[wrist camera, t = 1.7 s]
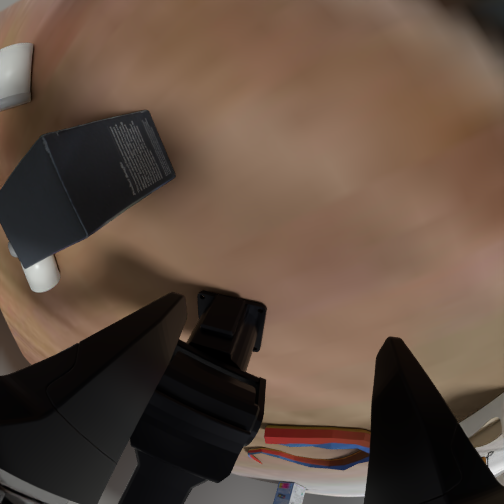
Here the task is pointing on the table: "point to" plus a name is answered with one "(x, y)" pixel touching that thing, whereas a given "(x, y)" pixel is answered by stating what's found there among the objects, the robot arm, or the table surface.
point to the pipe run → (8, 96)
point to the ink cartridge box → (289, 493)
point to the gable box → (486, 425)
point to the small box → (80, 183)
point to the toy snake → (317, 444)
